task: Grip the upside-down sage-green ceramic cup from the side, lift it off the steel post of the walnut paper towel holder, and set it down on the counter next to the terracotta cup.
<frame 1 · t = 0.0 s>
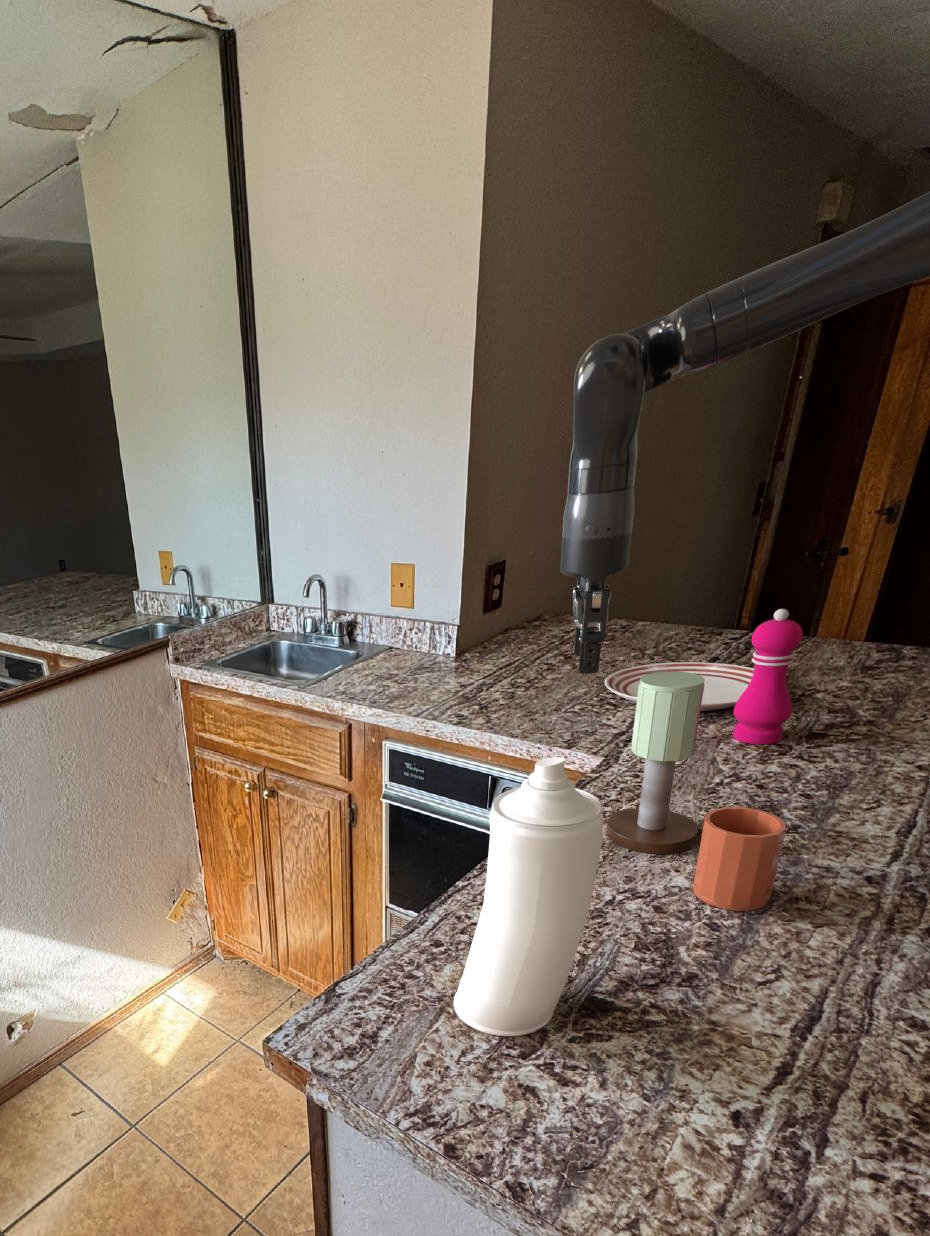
hand: (585, 663, 95), 20 cm above the countertop, tool pointing down, fingers open, 8 cm apart
pepper mill: (756, 738, 116), on the countertop
spray can: (518, 1002, 71), on the countertop
dinner plate: (686, 697, 136), on the countertop
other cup: (729, 893, 81), on the countertop
towel holder: (650, 835, 95), on the countertop
cup: (661, 751, 89), point 12 cm above the countertop, touching towel holder
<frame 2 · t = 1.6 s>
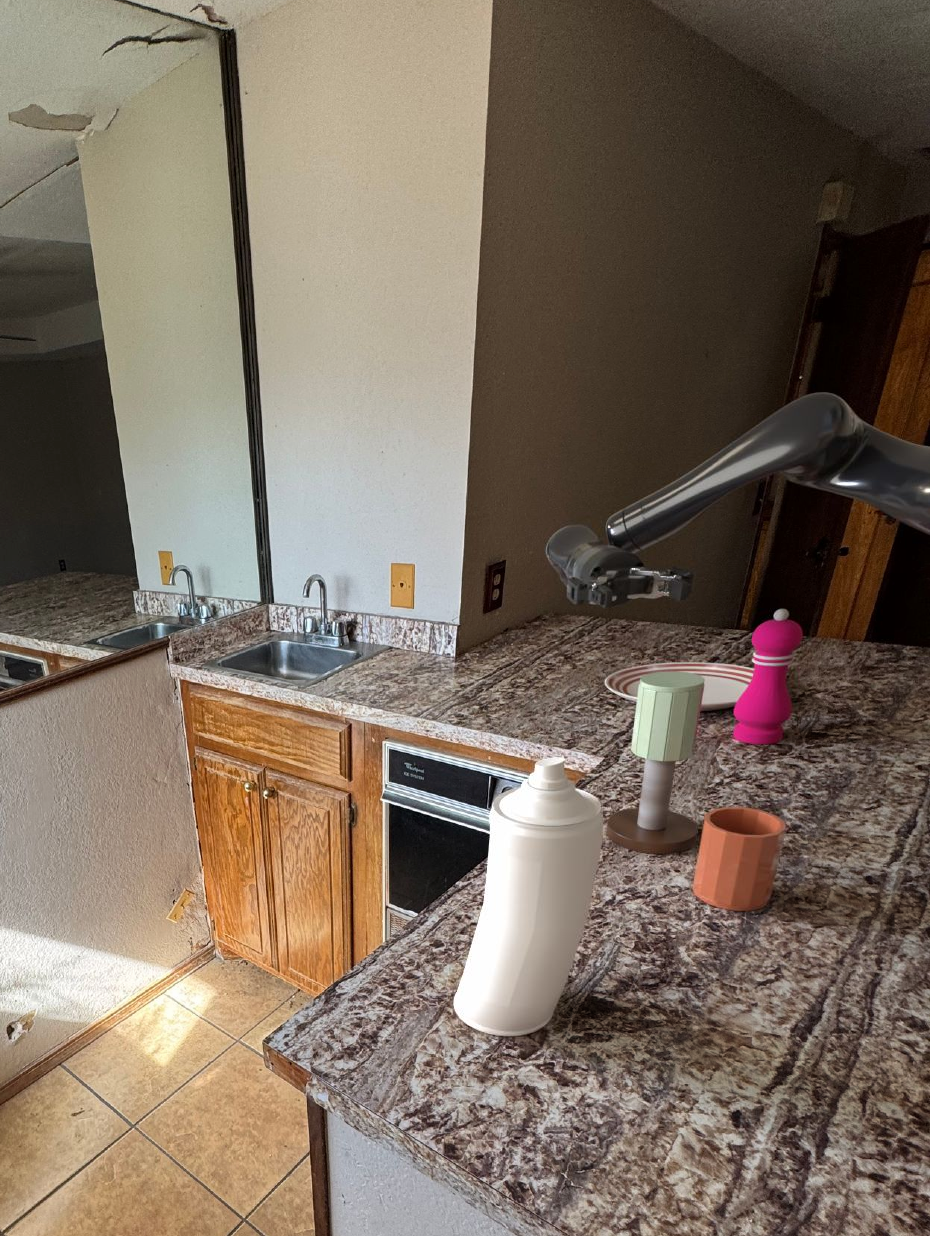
hand: (646, 596, 92), 28 cm above the countertop, tool horizontal, fingers open, 8 cm apart
nothing on the countertop moved.
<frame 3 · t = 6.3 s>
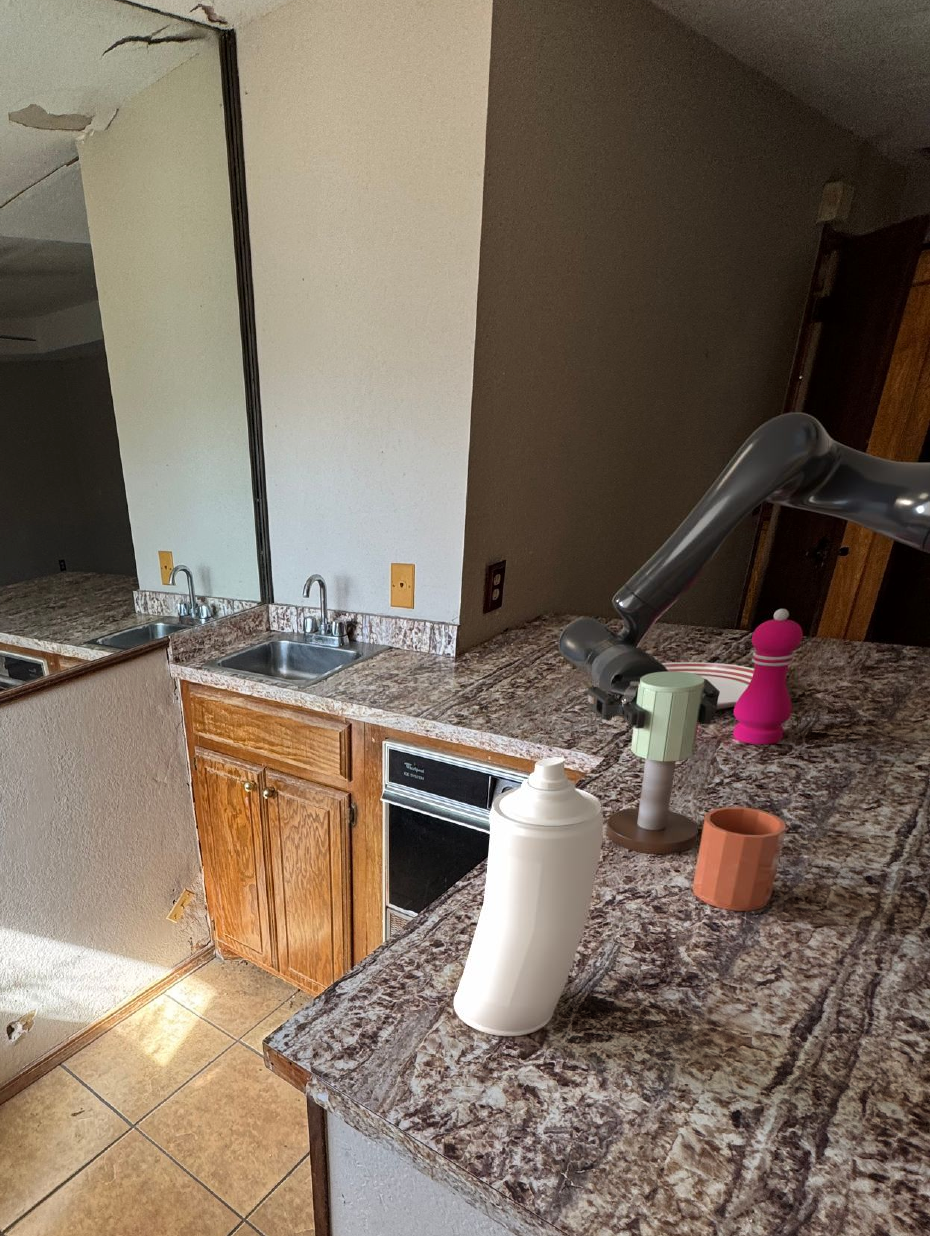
hand: (674, 718, 85), 17 cm above the countertop, tool horizontal, fingers closed on cup, 6 cm apart
cup: (661, 751, 89), point 12 cm above the countertop, touching gripper, towel holder
everything else where it was.
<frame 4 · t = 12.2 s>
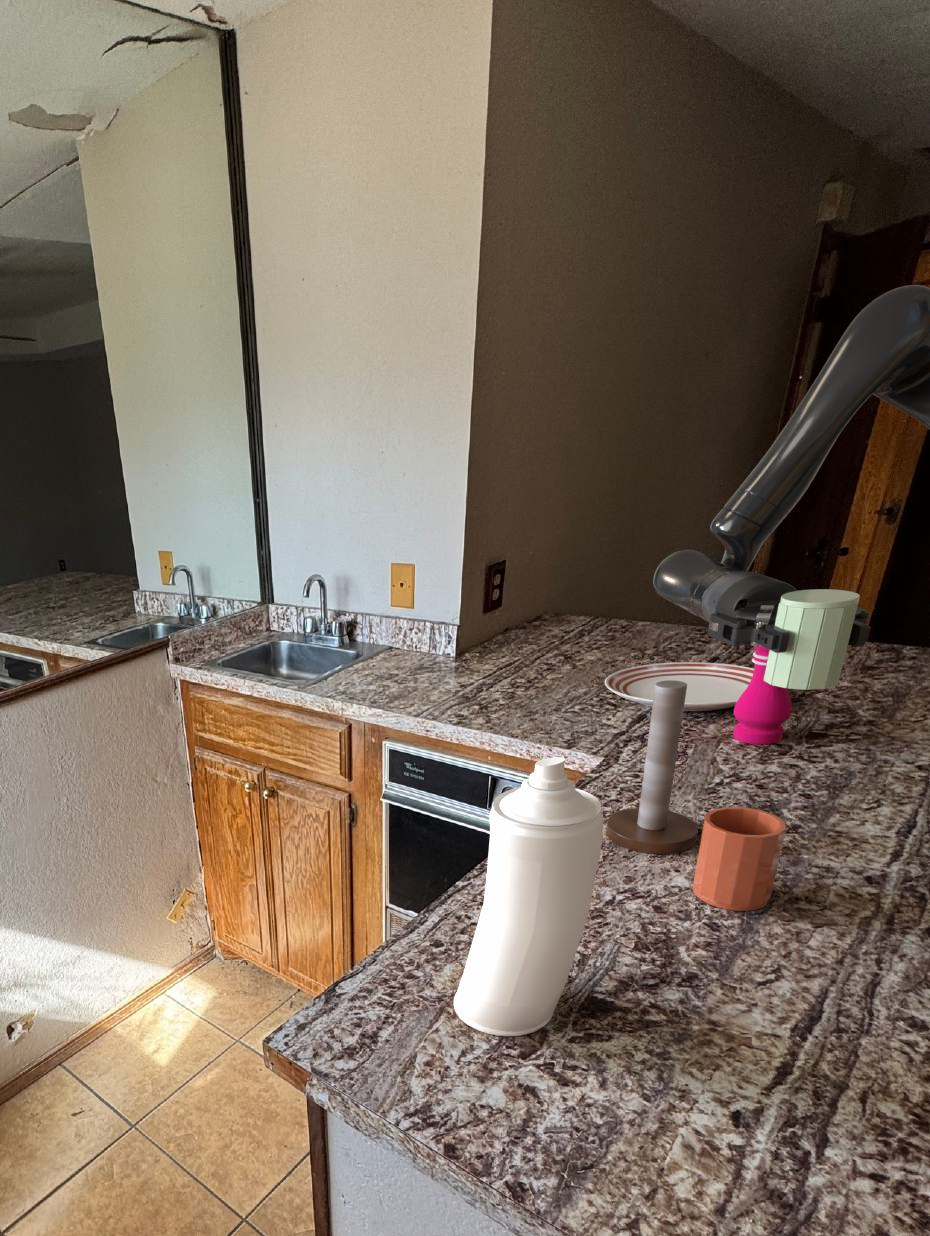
hand: (823, 639, 76), 25 cm above the countertop, tool horizontal, fingers closed on cup, 6 cm apart
cup: (800, 680, 80), point 21 cm above the countertop, touching gripper
everything else where it was.
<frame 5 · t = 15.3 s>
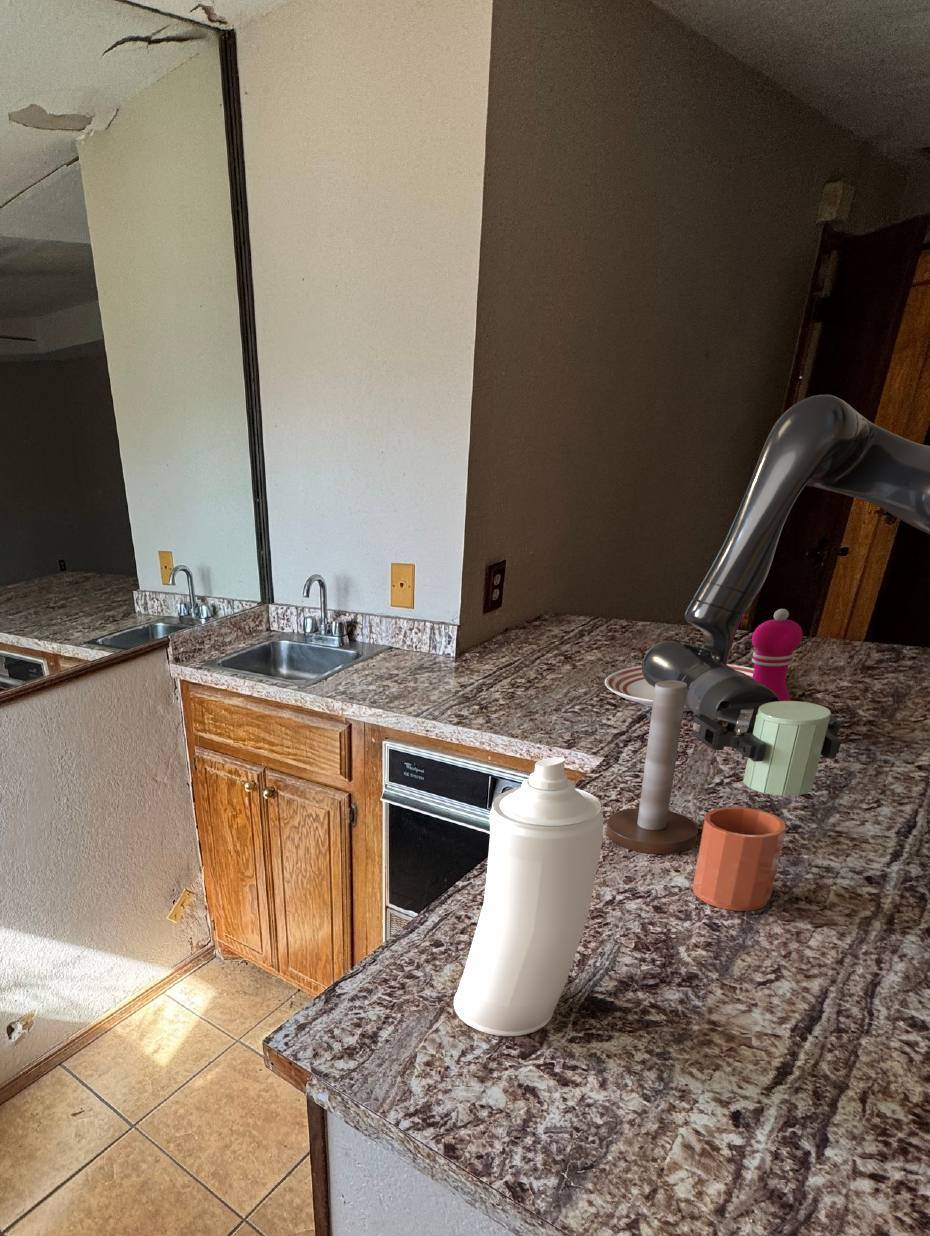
hand: (797, 751, 81), 13 cm above the countertop, tool horizontal, fingers closed on cup, 6 cm apart
cup: (777, 784, 85), point 8 cm above the countertop, touching gripper
everything else where it was.
when the fingers open (5 cm above the countertop, at t = 18.1 s): cup stays where it is, on the countertop.
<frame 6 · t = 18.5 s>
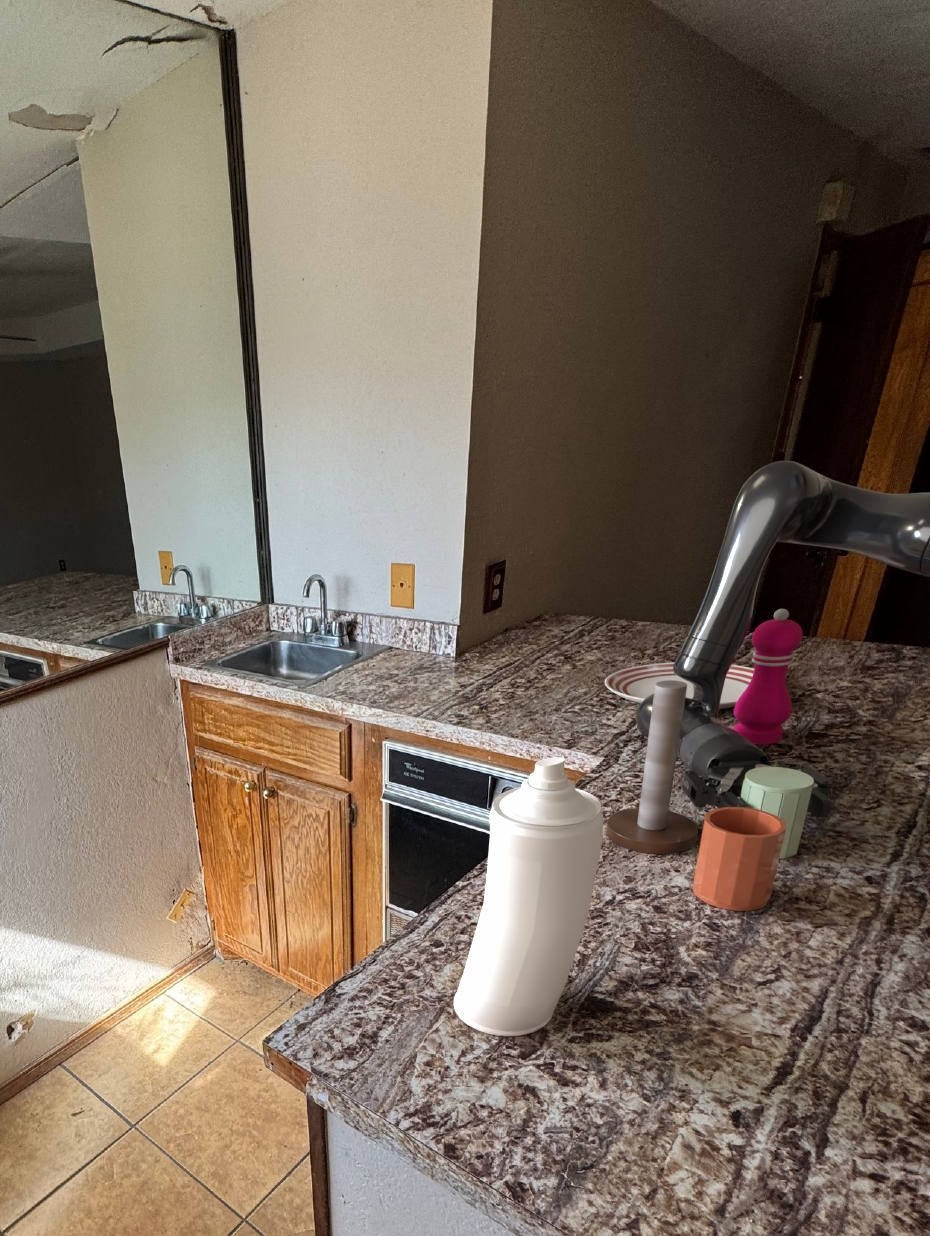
hand: (782, 812, 85), 6 cm above the countertop, tool horizontal, fingers open, 8 cm apart
cup: (764, 845, 89), on the countertop
everything else where it was.
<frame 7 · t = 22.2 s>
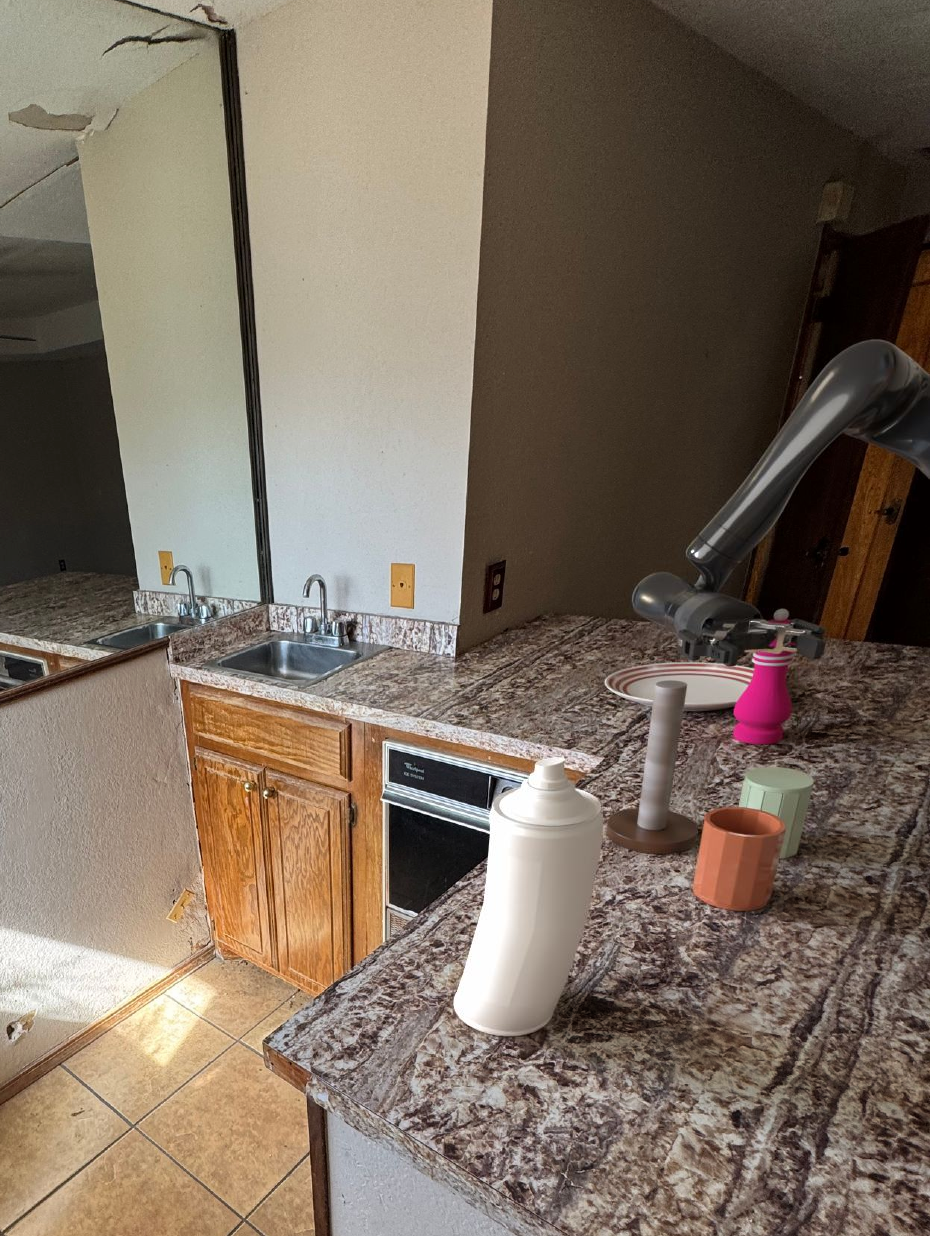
hand: (776, 654, 85), 22 cm above the countertop, tool horizontal, fingers open, 8 cm apart
nothing on the countertop moved.
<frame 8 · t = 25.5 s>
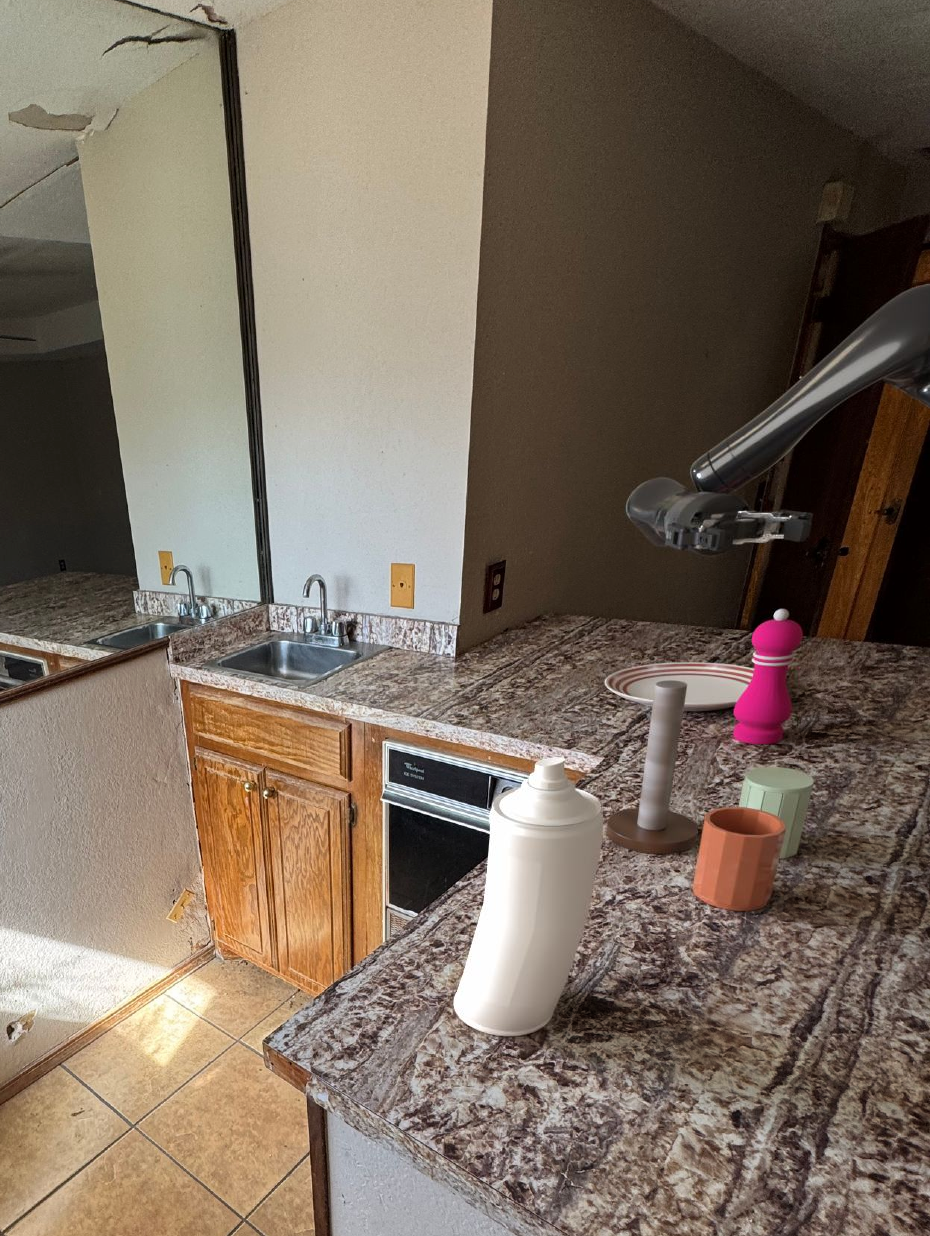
hand: (763, 536, 85), 34 cm above the countertop, tool horizontal, fingers open, 8 cm apart
nothing on the countertop moved.
at the end: cup on the countertop; cup 13.0 cm from the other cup (horizontally); cup tilted 0° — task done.
